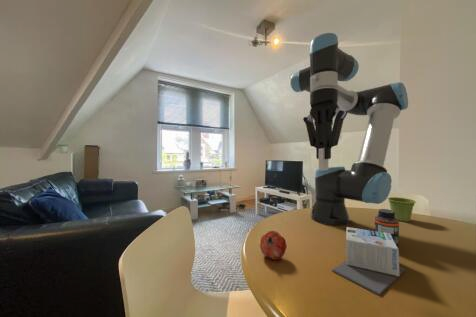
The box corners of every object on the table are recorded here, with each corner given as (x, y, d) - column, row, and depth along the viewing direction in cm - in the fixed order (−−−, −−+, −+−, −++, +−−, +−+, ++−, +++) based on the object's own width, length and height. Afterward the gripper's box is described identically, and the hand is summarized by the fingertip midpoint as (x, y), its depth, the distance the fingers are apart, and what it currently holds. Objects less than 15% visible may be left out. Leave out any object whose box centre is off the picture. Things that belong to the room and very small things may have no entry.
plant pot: (422, 223, 80) (422, 202, 79) (398, 223, 80) (399, 202, 79) (402, 215, 89) (403, 197, 89) (382, 216, 89) (382, 197, 89)
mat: (332, 271, 48) (332, 269, 48) (360, 253, 56) (360, 251, 56) (379, 295, 40) (379, 293, 40) (404, 270, 48) (404, 268, 48)
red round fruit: (264, 256, 60) (249, 246, 53) (274, 233, 62) (260, 222, 56) (285, 268, 54) (271, 259, 48) (295, 243, 57) (283, 231, 51)
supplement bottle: (376, 240, 65) (377, 206, 64) (399, 246, 60) (400, 210, 60) (372, 246, 60) (373, 210, 60) (397, 253, 56) (397, 214, 56)
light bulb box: (345, 226, 59) (390, 232, 53) (346, 248, 59) (390, 256, 53) (345, 239, 49) (400, 248, 44) (346, 265, 49) (400, 278, 44)
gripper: (297, 94, 61) (297, 169, 61) (338, 81, 50) (338, 172, 51) (312, 98, 65) (312, 168, 66) (352, 86, 54) (352, 170, 55)
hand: (323, 170), depth 58 cm, fingers closed
